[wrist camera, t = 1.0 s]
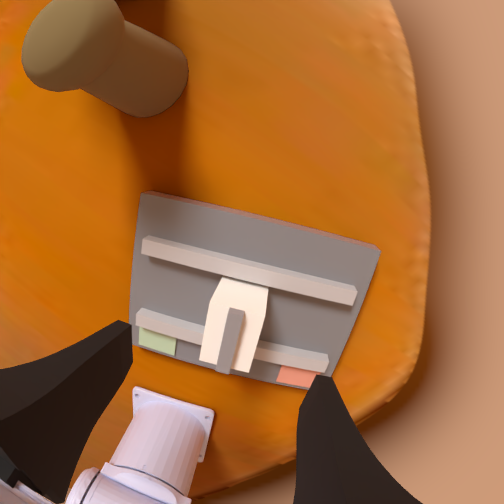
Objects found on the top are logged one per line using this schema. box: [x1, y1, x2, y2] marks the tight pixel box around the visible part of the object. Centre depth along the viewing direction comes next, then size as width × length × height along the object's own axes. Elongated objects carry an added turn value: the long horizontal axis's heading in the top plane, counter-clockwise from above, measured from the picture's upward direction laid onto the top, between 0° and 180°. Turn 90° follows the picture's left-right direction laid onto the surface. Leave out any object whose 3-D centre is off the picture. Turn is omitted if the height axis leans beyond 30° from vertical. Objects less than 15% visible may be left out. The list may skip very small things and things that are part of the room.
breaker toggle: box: [199, 275, 269, 374], centre depth 18 cm, size 4×3×5 cm
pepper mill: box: [22, 0, 189, 117], centre depth 13 cm, size 6×6×11 cm
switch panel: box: [129, 191, 381, 390], centre depth 21 cm, size 12×16×2 cm
